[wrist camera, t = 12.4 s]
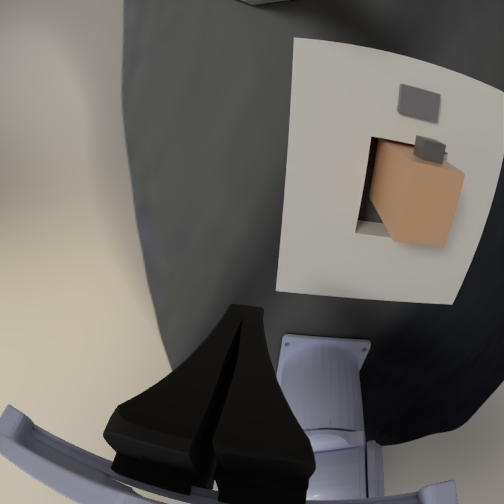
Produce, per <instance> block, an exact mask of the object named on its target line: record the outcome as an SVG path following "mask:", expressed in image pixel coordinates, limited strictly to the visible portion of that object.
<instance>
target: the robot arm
mask: <svg viewBox="0 0 504 504" xmlns="http://www.w3.org/2000/svg"><path fill="white" fill-rule="evenodd" d="M263 314H264V309H263V308H262V307H254V306H245V305H237V304H231V305H230V306H229V307H228V309H227V311H226V312H225V314H224V315H223V317H222V318H221V320H220V321H219V322H218V324H217V325H216V327H215V328H214V329H213V330H212V332H211V333H210V334H209V335H208V337H207V338H206V339H205V340H204V341H203V342H202V343H201V345H200V346H199V347H198V348H197V349H196V350H195V351H194V352H193V353H192V354H191V355H190V356H189V357H188V358H187V359H186V360H185V361H184V362H183V363H182V364H181V365H180V366H178V367H177V368H176V369H175V370H174V371H172V372H171V373H170V374H169V375H167V376H166V377H165V378H163V379H162V380H161V381H159V382H158V383H157V384H155V385H153V386H152V387H150V388H149V389H147V390H146V391H144V392H143V393H141V394H139V395H137V396H135V397H133V398H132V399H130V400H128V401H126V402H124V403H122V404H120V405H118V406H117V408H116V409H115V411H114V413H113V414H112V416H111V417H110V420H109V422H108V424H107V426H106V428H105V430H104V433H103V437H104V439H105V440H106V442H108V444H109V445H110V446H111V447H112V448H113V449H114V450H115V451H116V452H117V453H116V456H115V458H114V461H113V462H112V461H110V460H107V459H104V458H102V457H100V456H97V455H95V454H93V453H90V452H88V451H86V450H84V449H81V448H79V447H77V446H75V445H73V444H71V443H69V442H66V441H65V440H63V439H61V438H59V437H57V436H55V435H53V434H51V433H49V432H47V431H46V430H43V429H42V428H40V427H38V426H37V425H35V424H34V423H33V422H32V421H31V419H30V418H28V417H27V416H26V415H25V414H23V413H22V412H20V411H19V410H17V409H15V408H14V407H12V406H11V405H7V407H6V409H5V410H4V412H3V414H2V416H1V417H0V454H1V455H2V456H4V457H5V458H7V459H8V460H9V461H10V462H12V463H13V464H15V465H16V466H17V467H19V468H20V469H22V470H23V471H25V472H26V473H28V474H29V475H30V476H32V477H33V478H35V479H37V480H38V481H40V482H41V483H43V484H44V485H46V486H48V487H49V488H51V489H53V490H54V491H56V492H58V493H60V494H62V495H63V496H65V497H67V498H69V499H71V500H72V501H75V502H76V503H79V504H166V503H163V502H159V501H155V500H152V499H148V498H145V497H142V496H141V495H139V494H137V493H136V492H135V491H133V489H132V488H131V487H128V486H126V485H124V484H127V485H130V486H133V487H136V488H139V489H142V490H145V491H148V492H151V493H154V494H157V495H161V496H164V497H168V498H172V499H175V500H179V501H183V502H187V503H191V504H458V503H457V493H456V485H455V481H454V480H449V481H445V482H441V483H436V484H432V485H429V486H426V487H424V488H422V489H420V490H419V491H418V492H412V493H407V494H400V495H393V496H385V497H384V475H383V474H384V473H383V459H382V446H380V445H379V444H377V443H376V442H375V441H374V440H372V441H368V442H367V444H366V438H365V433H364V419H363V407H362V396H361V386H360V377H359V371H360V369H361V367H362V365H363V363H364V360H365V358H366V356H367V354H368V352H369V349H370V347H371V342H370V341H369V340H362V339H344V338H329V337H316V336H304V335H293V334H286V335H284V336H283V338H282V345H281V351H280V358H279V364H278V370H277V376H276V375H275V372H274V369H273V366H272V363H271V359H270V356H269V352H268V348H267V343H266V339H265V333H264V325H263ZM363 348H364V349H363ZM113 479H114V480H113ZM115 480H117V481H119V482H117V481H115ZM214 480H215V481H216V484H217V487H218V491H214V490H212V489H213V485H214ZM120 482H122V483H124V484H122V483H120Z"/></svg>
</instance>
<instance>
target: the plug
mask: <svg viewBox="0 0 504 504" xmlns="http://www.w3.org/2000/svg"><path fill="white" fill-rule="evenodd" d="M445 149H446V145H445V144H443V143H441V142H439V141H437V140H434V139H431V138H426V137H422V136H418V135H416V140H415V145H413V144H409V143H404V142H399V141H394V140H389V139H383V138H378V144H377V151H376V158H375V164H374V170H373V176H372V182H371V188H370V193H369V198H370V199H371V201H372V203H373V205H374V207H375V208H376V210H377V212H378V214H379V216H380V217H381V219H382V221H383V223H384V225H385V227H386V229H387V231H388V233H389V234H390V236H391V238H392V240H393V241H394V242H402V243H410V244H418V245H426V246H433V247H441V248H444V246H445V243H446V240H447V237H448V234H449V231H450V227H451V224H452V221H453V218H454V214H455V211H456V207H457V204H458V200H459V196H460V193H461V189H462V185H463V181H464V177H465V173H463V172H462V171H460V170H459V169H457V168H456V167H454V166H453V165H451V164H450V163H448V162H447V161H445V160H444V154H445Z"/></svg>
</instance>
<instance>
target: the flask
mask: <svg viewBox="0 0 504 504" xmlns="http://www.w3.org/2000/svg"><path fill="white" fill-rule="evenodd" d="M240 1H243V2H245V3H248V4H251V5H256V4H263V3H271V2H279V1H289V0H240Z"/></svg>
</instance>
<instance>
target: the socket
mask: <svg viewBox="0 0 504 504" xmlns="http://www.w3.org/2000/svg"><path fill="white" fill-rule="evenodd" d="M416 135H418V136H422V137H426V138H431V139H434V140H437V141H439V142H441V143H443V144H445V145H446V149H445V154H444V160H445V161H447V162H448V163H450V164H451V165H453V166H454V167H456V168H457V169H459V170H460V171H462V172H463V173H465V177H464V181H463V185H462V189H461V193H460V196H459V200H458V204H457V207H456V211H455V214H454V218H453V221H452V224H451V227H450V231H449V234H448V237H447V240H446V243H445V246H444V248H441V247H433V246H426V245H418V244H410V243H402V242H394V241H393V240H392V238H391V236H390V234H389V233H388V231H387V229H386V227H385V225H384V224H383V223H376V222H368V221H360V220H358V215H359V210H360V204H361V199H362V193H363V187H364V182H365V176H366V169H367V163H368V156H369V149H370V142H371V136H372V137H378V138H383V139H389V140H394V141H399V142H404V143H409V144H413V145H415V140H416ZM503 156H504V92H502V91H500V90H498V89H496V88H494V87H491V86H489V85H487V84H485V83H482V82H480V81H478V80H475V79H473V78H470V77H468V76H465V75H463V74H460V73H457V72H454V71H452V70H449V69H446V68H443V67H440V66H437V65H434V64H431V63H428V62H424V61H421V60H417V59H414V58H410V57H407V56H403V55H399V54H395V53H391V52H386V51H382V50H377V49H373V48H368V47H362V46H357V45H351V44H345V43H338V42H331V41H323V40H315V39H305V38H294V49H293V70H292V90H291V107H290V124H289V139H288V154H287V168H286V181H285V194H284V206H283V218H282V230H281V241H280V252H279V263H278V273H277V283H276V291H282V292H292V293H302V294H313V295H324V296H335V297H347V298H359V299H372V300H386V301H401V302H417V303H434V304H453V302H454V300H455V298H456V295H457V293H458V291H459V289H460V287H461V285H462V282H463V280H464V278H465V275H466V273H467V271H468V268H469V266H470V264H471V261H472V259H473V256H474V254H475V251H476V248H477V246H478V243H479V240H480V238H481V235H482V232H483V229H484V226H485V223H486V220H487V217H488V214H489V210H490V207H491V204H492V200H493V197H494V193H495V190H496V186H497V182H498V178H499V174H500V170H501V165H502V161H503Z"/></svg>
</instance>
